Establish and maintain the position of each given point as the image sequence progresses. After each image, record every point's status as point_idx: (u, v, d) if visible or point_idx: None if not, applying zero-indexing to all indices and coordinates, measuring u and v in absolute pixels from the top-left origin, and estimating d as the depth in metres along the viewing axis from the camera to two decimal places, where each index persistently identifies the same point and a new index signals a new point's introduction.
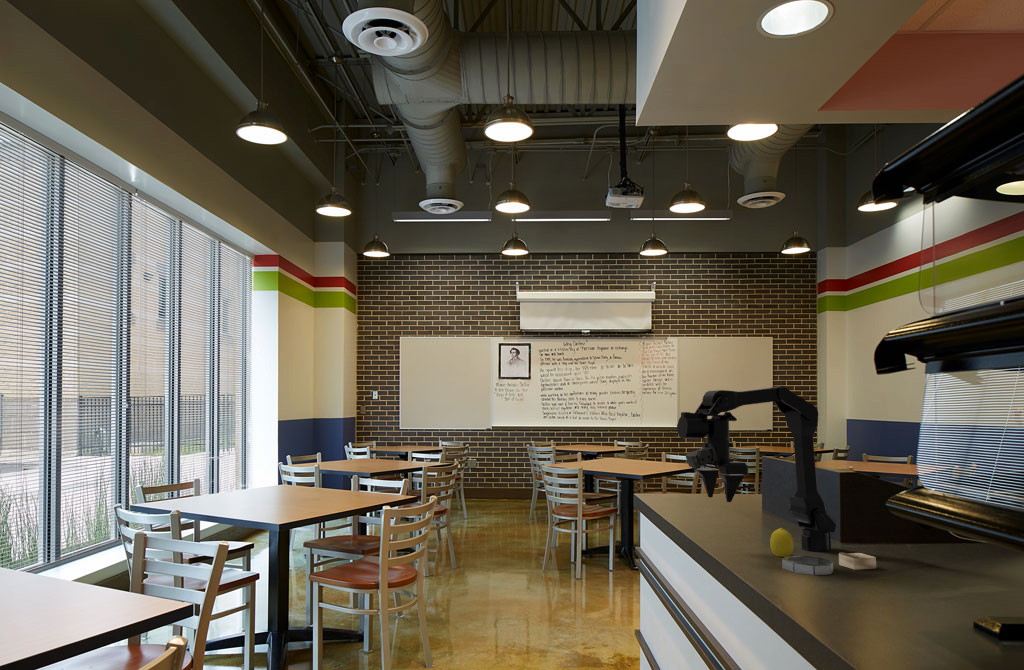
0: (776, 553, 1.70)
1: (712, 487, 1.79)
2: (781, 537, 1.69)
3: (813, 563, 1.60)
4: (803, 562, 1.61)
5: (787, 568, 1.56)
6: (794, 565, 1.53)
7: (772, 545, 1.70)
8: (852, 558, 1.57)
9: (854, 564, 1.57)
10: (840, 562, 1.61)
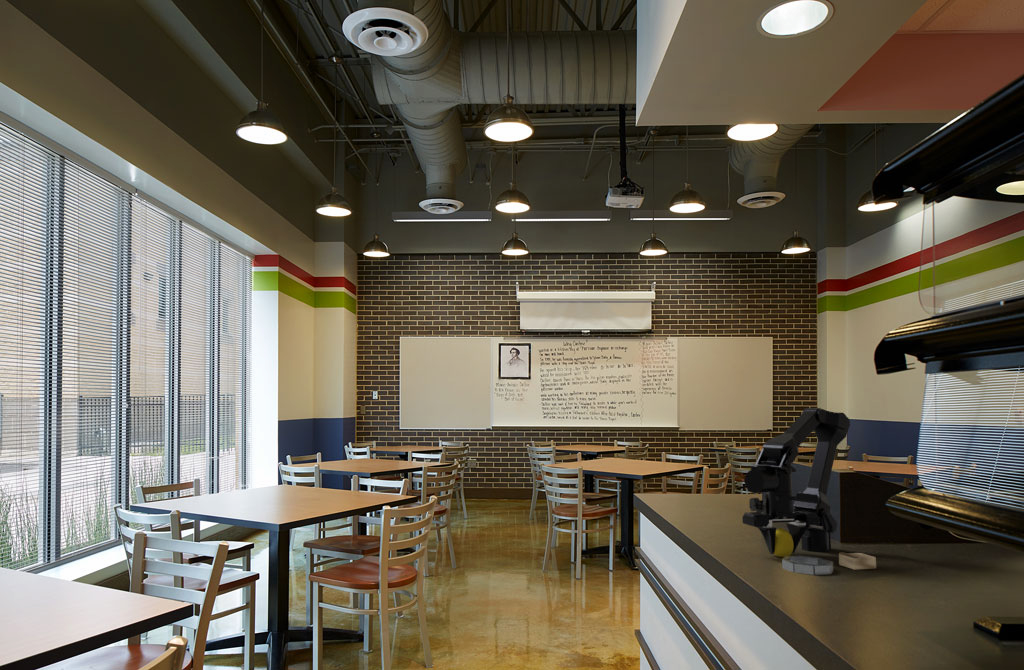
0: (776, 553, 1.70)
1: (793, 542, 1.71)
2: (781, 537, 1.69)
3: (813, 563, 1.60)
4: (803, 562, 1.61)
5: (787, 568, 1.56)
6: (794, 565, 1.53)
7: None
8: (852, 558, 1.57)
9: (854, 564, 1.57)
10: (840, 562, 1.61)
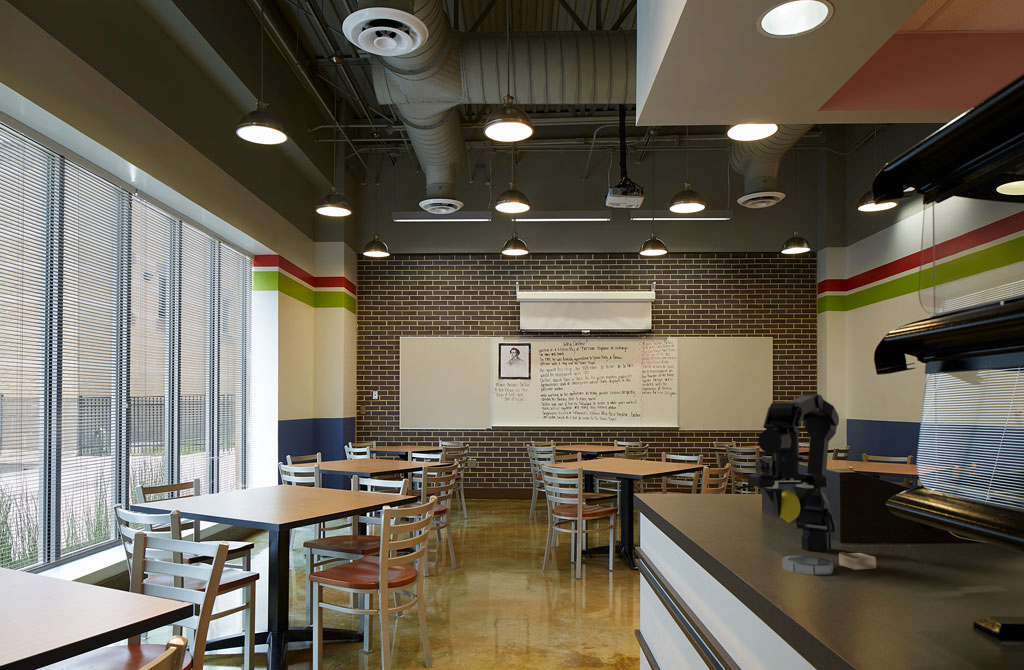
0: (782, 515, 1.65)
1: (800, 505, 1.67)
2: (787, 498, 1.65)
3: (813, 563, 1.60)
4: (803, 562, 1.61)
5: (787, 568, 1.56)
6: (794, 565, 1.53)
7: None
8: (852, 558, 1.57)
9: (854, 564, 1.57)
10: (840, 562, 1.61)
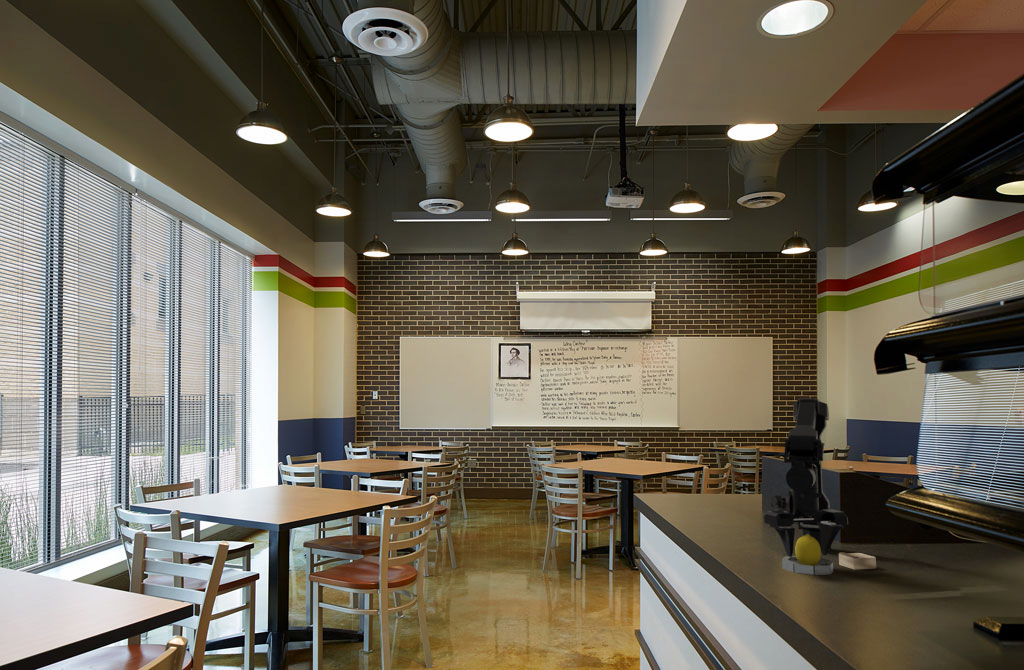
0: (802, 562, 1.56)
1: (825, 543, 1.58)
2: (808, 544, 1.55)
3: None
4: None
5: (787, 568, 1.56)
6: (794, 565, 1.53)
7: (797, 553, 1.56)
8: (852, 558, 1.57)
9: (854, 564, 1.57)
10: (840, 562, 1.61)
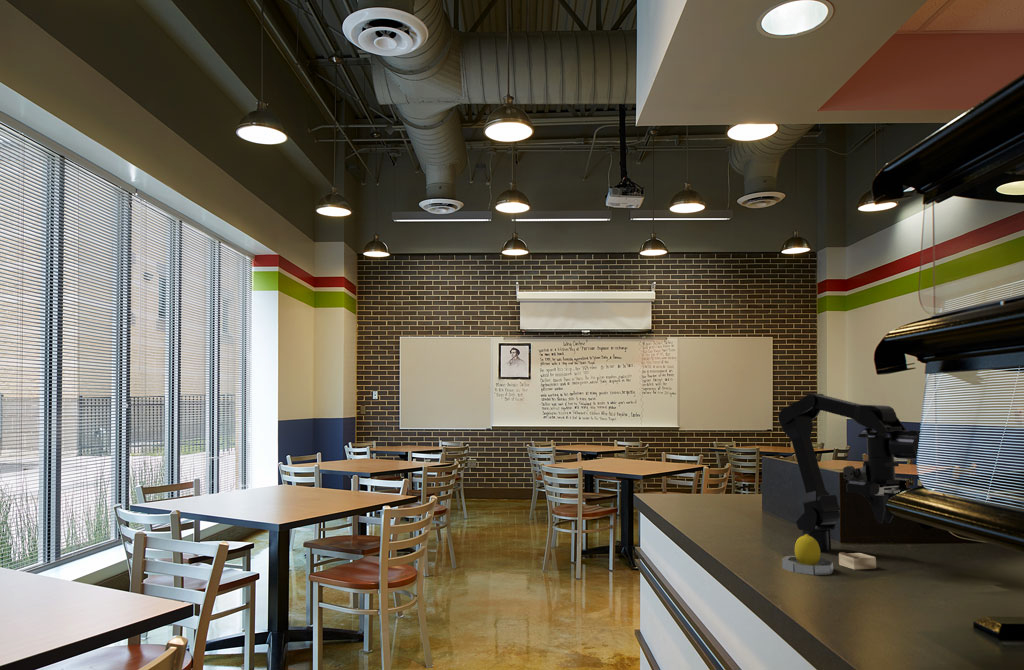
0: (801, 562, 1.56)
1: None
2: (807, 544, 1.55)
3: None
4: None
5: (787, 568, 1.56)
6: (794, 565, 1.53)
7: (797, 553, 1.56)
8: (852, 558, 1.57)
9: (854, 564, 1.57)
10: (840, 562, 1.61)
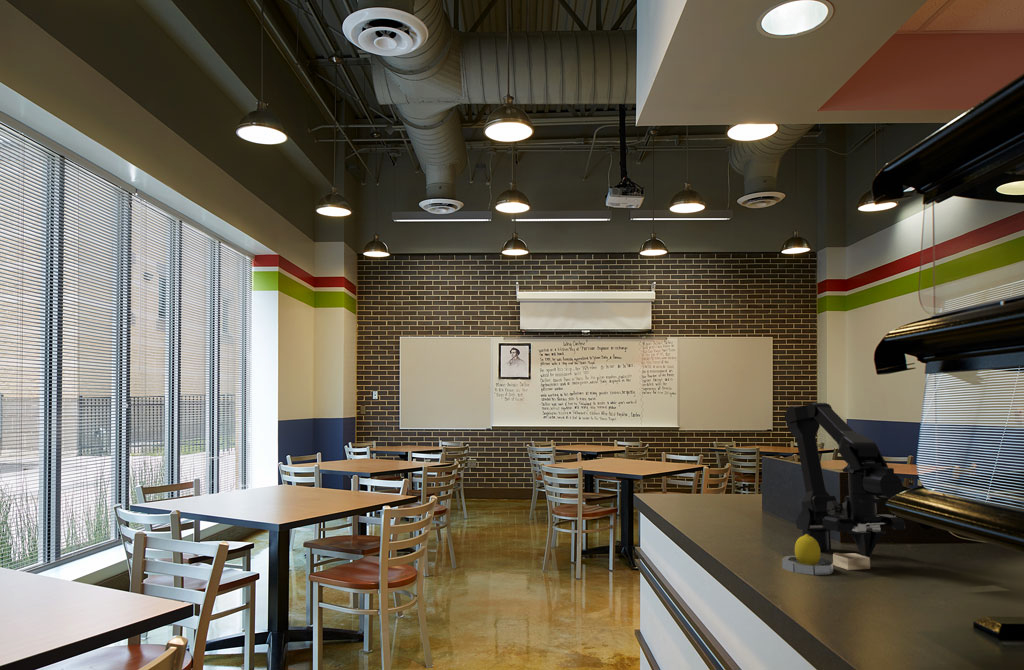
0: (801, 562, 1.56)
1: None
2: (807, 544, 1.55)
3: None
4: None
5: (787, 568, 1.56)
6: (794, 565, 1.53)
7: (797, 553, 1.56)
8: (846, 558, 1.57)
9: (848, 565, 1.56)
10: (834, 562, 1.61)
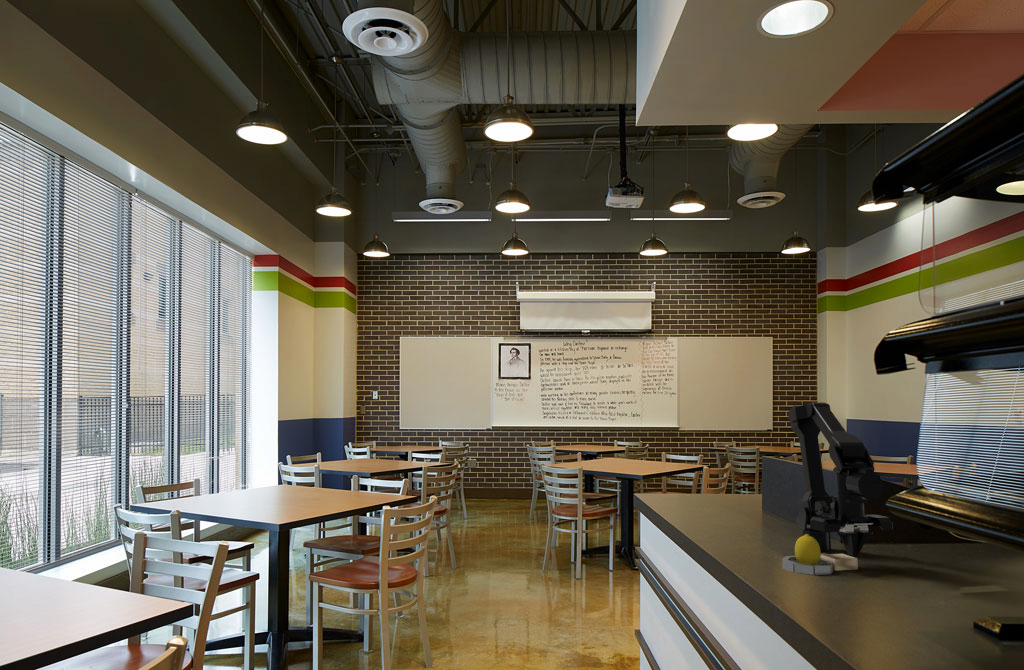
0: (801, 562, 1.56)
1: None
2: (807, 544, 1.55)
3: None
4: None
5: (787, 568, 1.56)
6: (794, 565, 1.53)
7: (797, 553, 1.56)
8: (833, 559, 1.56)
9: (835, 565, 1.55)
10: None
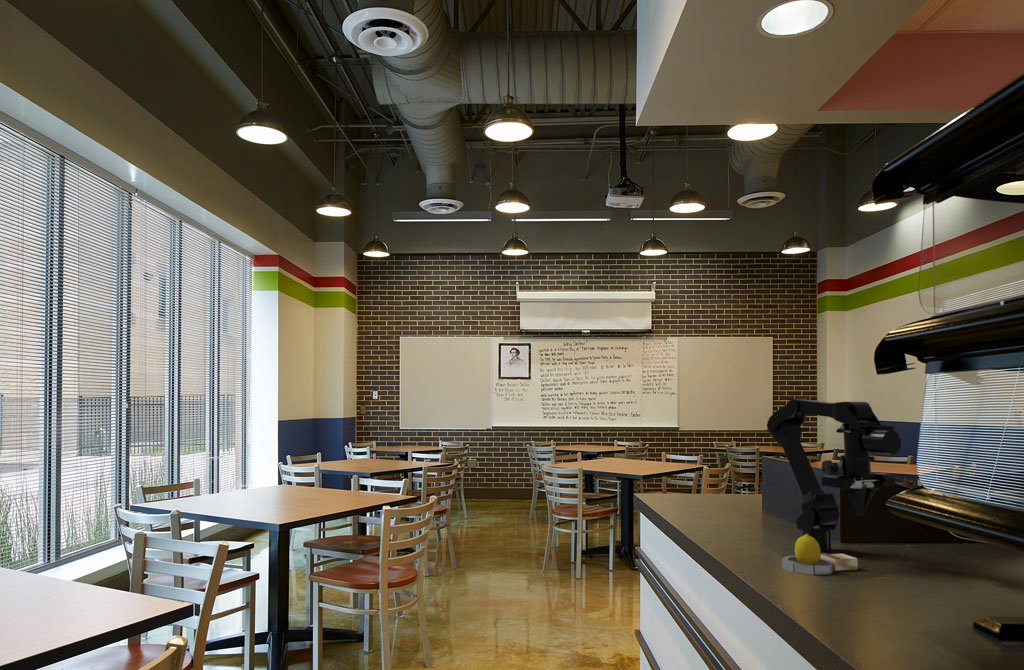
0: (801, 562, 1.56)
1: None
2: (807, 544, 1.55)
3: None
4: None
5: (787, 568, 1.56)
6: (794, 565, 1.53)
7: (797, 553, 1.56)
8: (833, 559, 1.56)
9: (835, 565, 1.55)
10: None
